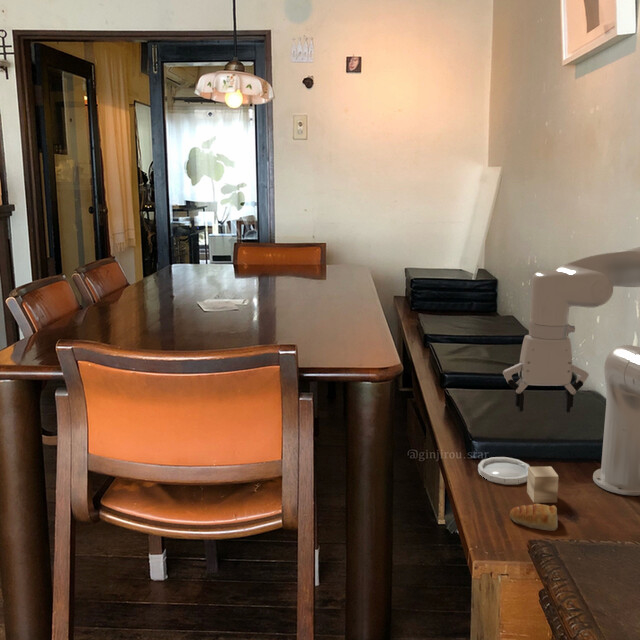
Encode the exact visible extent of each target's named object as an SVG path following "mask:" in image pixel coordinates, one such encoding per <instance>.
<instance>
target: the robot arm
mask: <svg viewBox="0 0 640 640" xmlns="http://www.w3.org/2000/svg"><path fill="white" fill-rule="evenodd" d="M614 287H620V288H640V246H638V247H634V248H628V249H627V248H626V249H622V250H618V251H612V252H611V251H610V252H605V253H601V254H600V253H599V254H594V255H590V256H585V257H583V258H579V259H576V260H574V261H570V262H568V263H565V264H563V265H560V266H559V267H558V268H556V269H554V270H551V269H550V270H539V271H537V272H535V273H534V274H533V275H532V280H531V293H530V311H529V327H528V328H529V329H528V334H526V335H524V337H523V341H522V346H521V350H520V356H519V363H516V364H514V365H513V366H510V367H509V368H506V369H504V370H503V371H502V375H503V377H504V379H505V380H506V382H507V384H508V386H509V387H511V388H512V390H513V391H514V400H513V401H514V402H513V403H514V407H515V408H516V409H517V410H518V412H519V413H522V412H524V405H525V404H524V402H525V394H524V390H526V388H527V387H528V386H544V387H545V386H548V387H550V386H553V387H554V386H555V387H558V386H561V387H563V386H564V388H565V389H564V390H563V396H562V397H563V398H562V409H563V410H564V412H566V413H571V408H573V407H574V406H573V405H574V395H576V393H577V391H578V390H579V389H580V388H582V387H583V386H584V384H585V382H586V380H588V377H589V373H588V372H587V371H586V370H584V369H582V368H580V367H578V366H576V365H575V364H573V351H572V344H571V338H570V337H569V334H571V333H575V332H576V326H574V325H570V324H569V319H570V317H569V315H570V307H576V308H577V307H578V308H587V309H588V308H592V309H593V308H599V307H601V306H603V305H605V304H606V303H608V302H609V301H610V300H611V298H612V296H613V294H614ZM603 367H604V369H603V374H604V381H605V382H604V383H605V392H606V403H605V404H606V405H605V413H604V414H605V415H604V426H603V427H604V428H603V429H604V430H603V440H602V441H603V442H602V452H601V454H602V455H601V465H600V468H598V469H596V470H595V471H593V475H592V479H593V482H594V484H596V485H597V486H598V487H600V488H601V489H602V490H605V491H608V492H610V493H615V494H617V495H622V496H633V497H634V496H640V346H638V345H637V346H636V345H632V344H625V345H624V344H623V345H619V346H617V347H615V348H613V349H612V350H610V352H609V353H608V354H607V356H606V358H605V362H604V366H603ZM517 373H518V377H519V379H518V380H517V381H516V382H515V380H514V379H513V377H512V376H513V375H514V374H517ZM573 373H574V374H576V375H578V376H577V378H576V380H574V381H573V382H572V379H573ZM571 382H572V383H571Z"/></svg>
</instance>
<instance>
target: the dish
mask: <svg viewBox="0 0 640 640" xmlns="http://www.w3.org/2000/svg"><path fill="white" fill-rule="evenodd" d="M528 467H531V466H530V464H529V463H526V462H524V461H522V460H520V459H517V458H513V457H506V456H495V457H494V456H493V457H489V458H483V459H481V460H480V462H479V463H478V465H477V471H478V474H479V475H481V476H482V477H481V476H480V477H481V478H483V477H484V478H485V480H486V479H487V480H486V481H489V482H491V483H496V484H499V485H500V484H501V485H509V486H510V485H520V484H525V483H527V479H528ZM484 478H483V479H484Z"/></svg>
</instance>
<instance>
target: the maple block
mask: <svg viewBox="0 0 640 640" xmlns="http://www.w3.org/2000/svg"><path fill="white" fill-rule="evenodd" d="M559 479H560V478H559V475H558V473H557V472H556V471H555V469H554V468H553V467H552V466H530V467H528V479H527V482H526V493H527V494H528V496H529V498H530V499H531V501H532V502H533V504H537V503H538V504H541V503H543V504H545V503H558V493H559Z"/></svg>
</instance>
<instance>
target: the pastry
mask: <svg viewBox="0 0 640 640" xmlns="http://www.w3.org/2000/svg"><path fill="white" fill-rule="evenodd" d="M509 518H510V519H511V520H512V521H513V522H514V523H516V524H517V525H521V526H525V527H527V528H529V529H537V530H542V531H551V532H552V531H553V532H554V531H556V530H557V529H558V519H559V517H558V509H557V506H556V505H554V504H553V505H551V506H550V505H547V504H544V503H543V504H541V503H533V504H528V505H525V504H524V505H523V504H522V505H519V506H514V507H513V508H512V509H511V510H510V511H509Z"/></svg>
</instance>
